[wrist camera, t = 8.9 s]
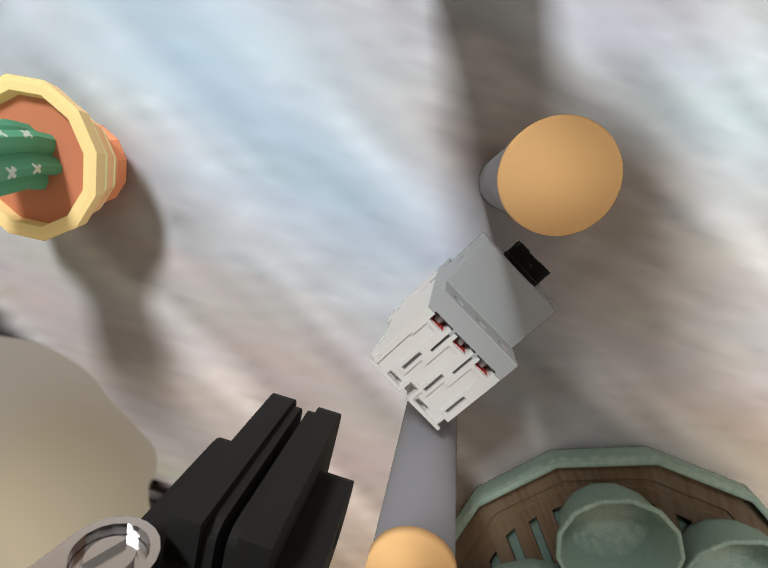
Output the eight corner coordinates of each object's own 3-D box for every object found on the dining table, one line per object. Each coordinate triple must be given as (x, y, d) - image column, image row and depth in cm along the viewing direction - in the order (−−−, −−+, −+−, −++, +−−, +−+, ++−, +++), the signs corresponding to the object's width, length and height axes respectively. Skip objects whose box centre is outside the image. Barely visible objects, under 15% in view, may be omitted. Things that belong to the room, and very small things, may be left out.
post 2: (487, 147, 44) (522, 100, 19) (540, 162, 43) (643, 133, 19) (470, 200, 45) (482, 217, 21) (521, 215, 44) (595, 250, 20)
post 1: (418, 359, 49) (378, 526, 25) (464, 374, 49) (469, 559, 25) (405, 400, 51) (355, 596, 26) (449, 415, 50) (440, 629, 26)
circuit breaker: (546, 270, 45) (587, 310, 31) (442, 359, 49) (435, 432, 34) (494, 216, 45) (511, 230, 30) (393, 310, 49) (365, 363, 34)
